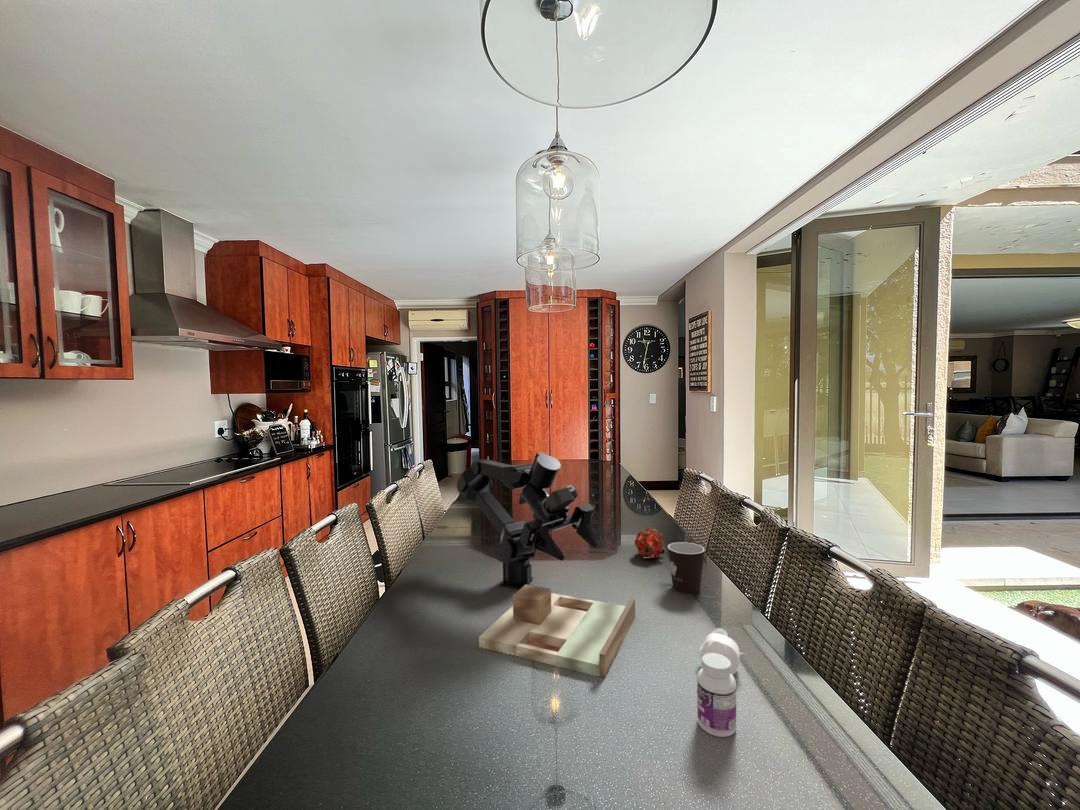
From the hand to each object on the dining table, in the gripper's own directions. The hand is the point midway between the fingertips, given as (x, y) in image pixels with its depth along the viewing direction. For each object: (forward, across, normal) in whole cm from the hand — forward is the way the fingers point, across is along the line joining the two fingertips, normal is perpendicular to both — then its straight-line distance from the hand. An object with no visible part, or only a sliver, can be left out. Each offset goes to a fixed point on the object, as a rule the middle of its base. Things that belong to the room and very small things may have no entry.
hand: (580, 552), depth 100 cm
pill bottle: (+38, -6, -8) cm, 39 cm away
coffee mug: (+12, +30, +12) cm, 34 cm away
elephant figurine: (+32, +7, -3) cm, 33 cm away
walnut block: (+3, -11, +12) cm, 16 cm away
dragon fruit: (-4, +38, +23) cm, 45 cm away
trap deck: (+8, -8, +11) cm, 16 cm away
